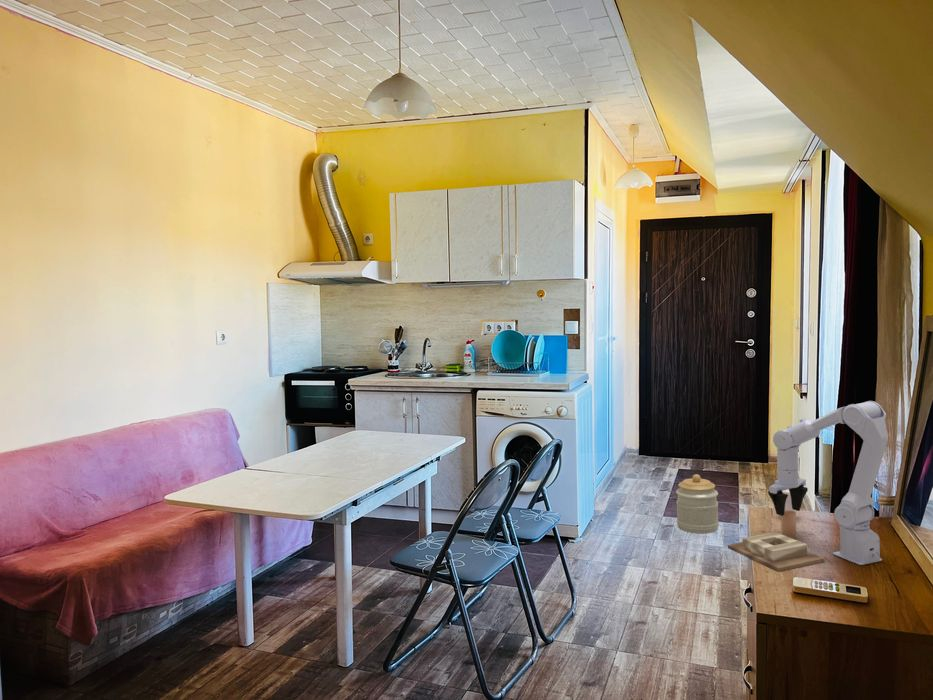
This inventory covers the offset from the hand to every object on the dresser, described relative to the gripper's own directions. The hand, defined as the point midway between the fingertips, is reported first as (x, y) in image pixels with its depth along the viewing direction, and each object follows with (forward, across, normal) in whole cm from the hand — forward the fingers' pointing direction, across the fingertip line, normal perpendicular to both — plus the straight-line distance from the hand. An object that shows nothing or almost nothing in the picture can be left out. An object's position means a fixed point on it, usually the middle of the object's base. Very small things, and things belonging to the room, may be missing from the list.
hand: (788, 512), depth 213 cm
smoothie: (+8, -16, -11) cm, 21 cm away
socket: (+8, +15, +6) cm, 18 cm away
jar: (+8, +14, -23) cm, 28 cm away
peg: (+8, 0, 0) cm, 8 cm away
